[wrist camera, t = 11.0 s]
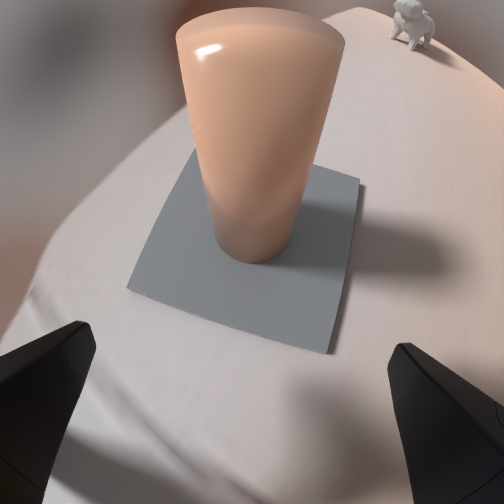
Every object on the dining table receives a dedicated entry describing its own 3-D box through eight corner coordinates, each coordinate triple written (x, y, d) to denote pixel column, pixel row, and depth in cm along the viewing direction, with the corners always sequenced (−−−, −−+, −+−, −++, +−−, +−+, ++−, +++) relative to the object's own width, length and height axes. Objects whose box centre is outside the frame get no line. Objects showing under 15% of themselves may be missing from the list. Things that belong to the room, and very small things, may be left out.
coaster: (323, 354, 15) (326, 353, 14) (130, 290, 16) (126, 287, 15) (357, 183, 19) (359, 179, 18) (202, 143, 20) (200, 138, 20)
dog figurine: (375, 38, 31) (388, -15, 21) (407, 34, 33) (421, -7, 24) (402, 54, 29) (420, 0, 19) (430, 48, 32) (446, 6, 22)
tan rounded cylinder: (305, 240, 16) (378, 54, 5) (237, 277, 16) (218, 80, 4) (265, 184, 18) (282, 3, 7) (201, 214, 17) (157, 26, 6)
